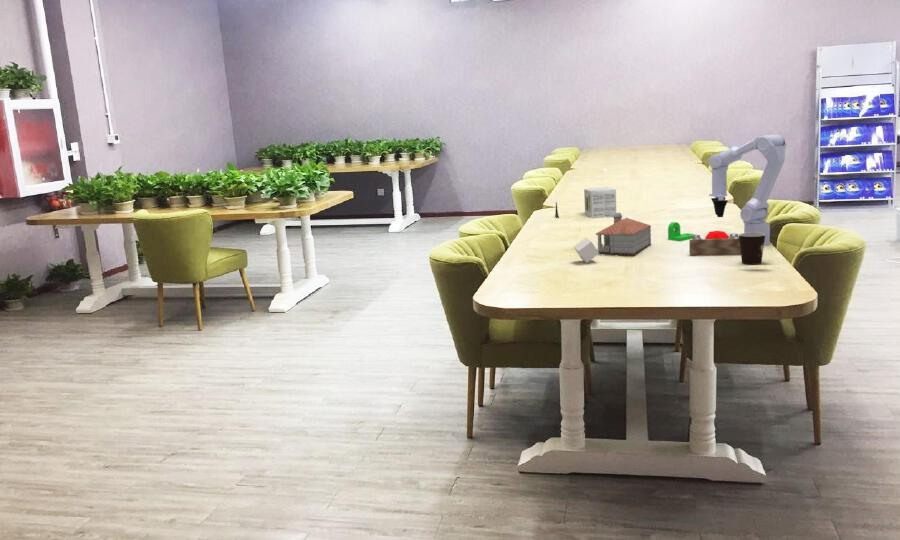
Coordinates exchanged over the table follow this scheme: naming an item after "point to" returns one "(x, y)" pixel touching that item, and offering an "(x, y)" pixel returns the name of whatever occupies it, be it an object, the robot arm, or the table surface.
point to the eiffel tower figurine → (556, 212)
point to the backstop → (715, 247)
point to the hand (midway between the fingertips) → (719, 215)
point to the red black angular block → (717, 235)
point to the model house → (624, 237)
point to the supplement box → (600, 202)
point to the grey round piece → (700, 238)
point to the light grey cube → (586, 250)
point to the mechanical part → (677, 233)
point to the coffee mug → (751, 247)
